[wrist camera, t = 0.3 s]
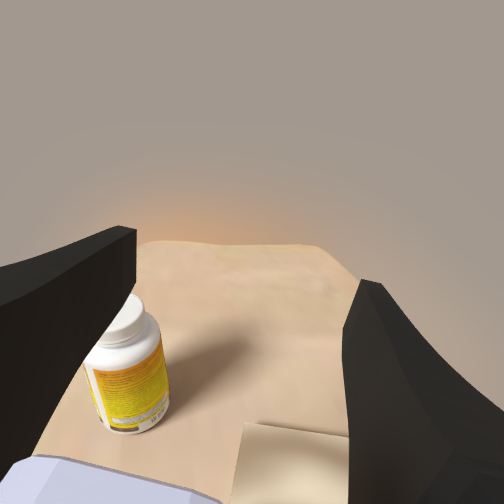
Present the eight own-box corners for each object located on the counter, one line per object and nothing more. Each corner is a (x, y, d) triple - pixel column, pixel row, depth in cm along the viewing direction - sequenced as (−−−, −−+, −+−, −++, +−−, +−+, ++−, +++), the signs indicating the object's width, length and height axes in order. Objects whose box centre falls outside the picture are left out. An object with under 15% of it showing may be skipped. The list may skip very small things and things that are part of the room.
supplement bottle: (185, 400, 32) (173, 305, 27) (129, 453, 29) (102, 355, 23) (140, 367, 35) (121, 274, 29) (84, 410, 31) (50, 314, 26)
